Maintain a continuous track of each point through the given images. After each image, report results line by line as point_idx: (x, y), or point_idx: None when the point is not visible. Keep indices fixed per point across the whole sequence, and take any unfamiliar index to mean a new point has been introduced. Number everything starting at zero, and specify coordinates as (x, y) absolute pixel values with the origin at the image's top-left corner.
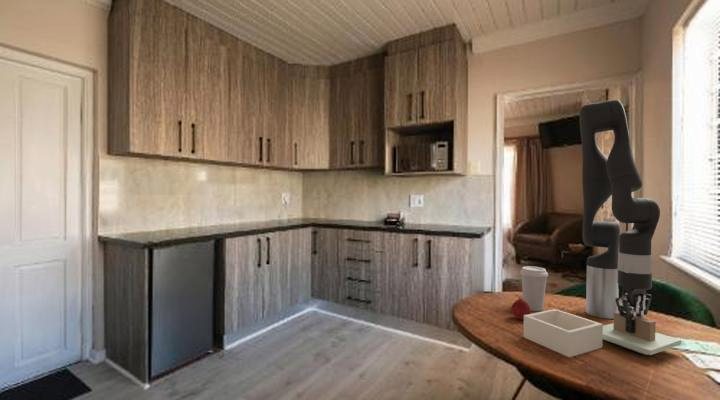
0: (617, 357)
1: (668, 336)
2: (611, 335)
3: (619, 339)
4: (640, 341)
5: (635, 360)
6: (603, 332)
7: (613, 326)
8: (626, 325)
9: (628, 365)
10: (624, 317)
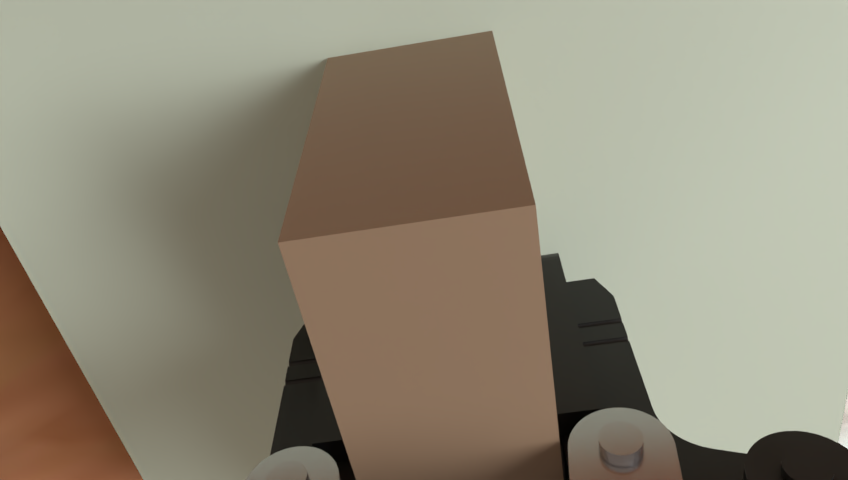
0: (39, 297)
1: (832, 415)
2: (69, 234)
3: (77, 350)
4: None
5: None
6: (24, 115)
7: (323, 79)
8: (290, 387)
9: (23, 412)
10: (269, 464)
